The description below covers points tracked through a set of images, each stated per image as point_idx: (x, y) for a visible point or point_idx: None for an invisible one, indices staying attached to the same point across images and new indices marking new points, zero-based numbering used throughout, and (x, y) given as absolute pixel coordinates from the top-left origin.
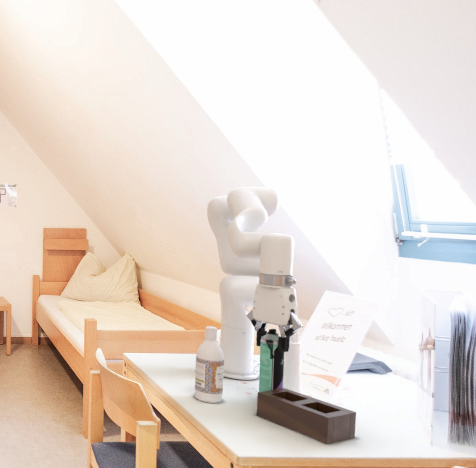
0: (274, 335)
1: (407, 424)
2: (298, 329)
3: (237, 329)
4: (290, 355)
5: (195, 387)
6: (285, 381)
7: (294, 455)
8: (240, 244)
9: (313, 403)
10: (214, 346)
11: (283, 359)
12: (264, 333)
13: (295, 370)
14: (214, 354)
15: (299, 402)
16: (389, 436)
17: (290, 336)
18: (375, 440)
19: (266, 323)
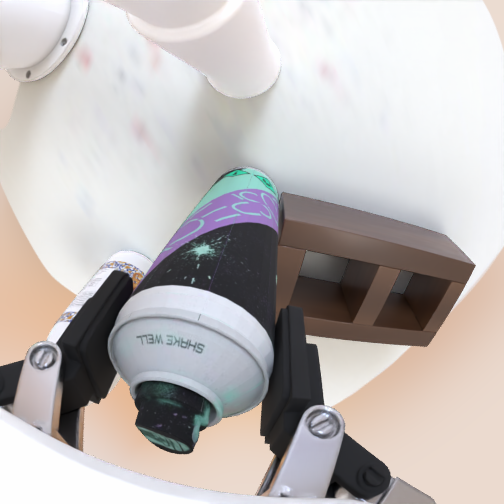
0: (213, 423)
1: (488, 46)
2: (404, 493)
3: None
4: (217, 63)
5: None
6: (226, 86)
7: (373, 376)
8: None
9: (394, 279)
10: (91, 402)
11: (275, 278)
12: (97, 361)
13: (256, 65)
14: (110, 391)
15: (367, 314)
16: (487, 164)
17: (331, 418)
18: (472, 214)
19: (58, 424)
